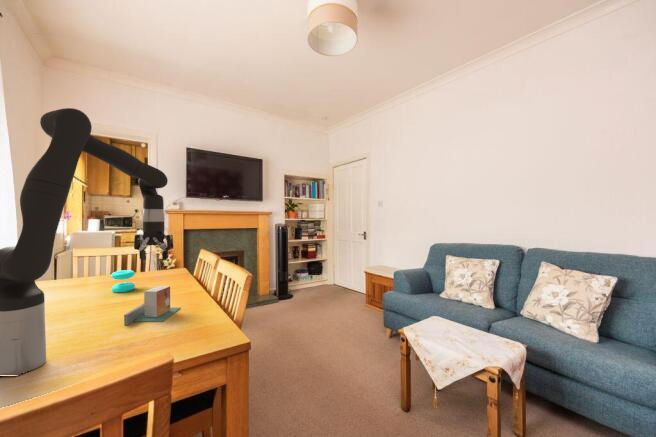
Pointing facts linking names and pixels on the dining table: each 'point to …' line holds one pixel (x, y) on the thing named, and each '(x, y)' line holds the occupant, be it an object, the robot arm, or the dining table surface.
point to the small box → (157, 301)
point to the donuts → (120, 276)
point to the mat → (158, 319)
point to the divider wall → (133, 315)
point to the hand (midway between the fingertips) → (154, 260)
